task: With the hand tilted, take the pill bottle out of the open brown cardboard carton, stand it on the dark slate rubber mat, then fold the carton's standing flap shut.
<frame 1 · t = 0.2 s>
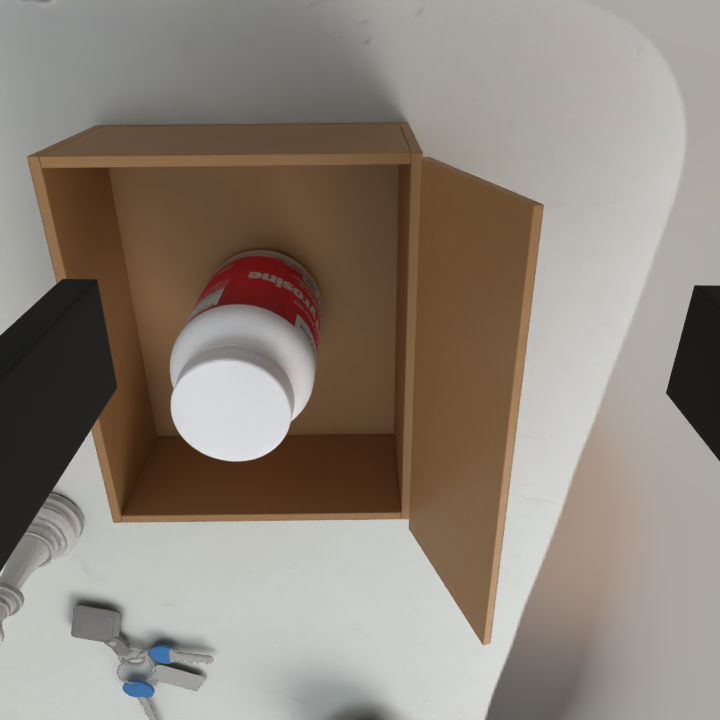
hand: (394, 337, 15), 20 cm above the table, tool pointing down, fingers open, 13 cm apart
carton: (265, 298, 36), on the table
pill bottle: (265, 300, 36), resting on carton
key chain: (158, 653, 49), on the table
chess piece: (50, 515, 43), on the table
flap: (457, 411, 26), point 12 cm above the table, hinge at 110.0°
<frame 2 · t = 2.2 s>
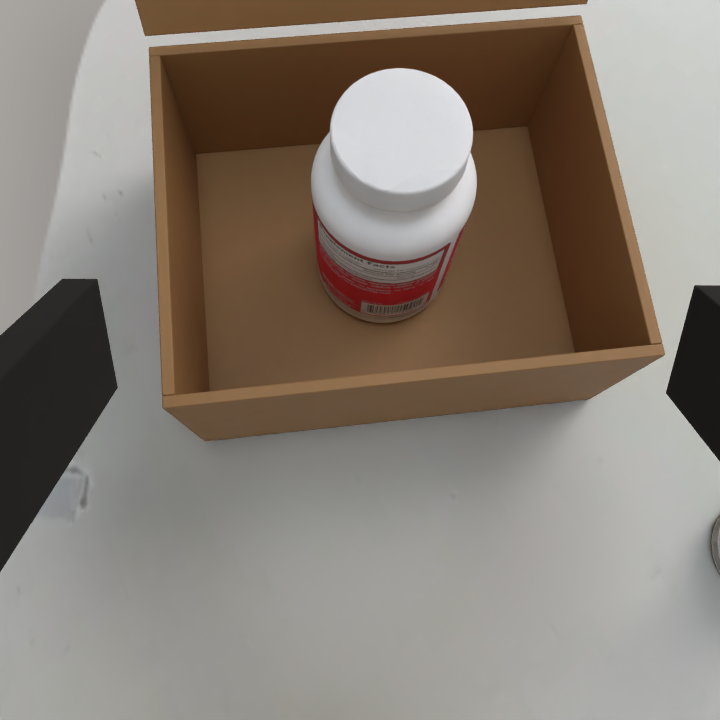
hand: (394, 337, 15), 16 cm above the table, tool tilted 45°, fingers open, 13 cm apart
carton: (380, 270, 32), on the table
pill bottle: (381, 268, 32), resting on carton
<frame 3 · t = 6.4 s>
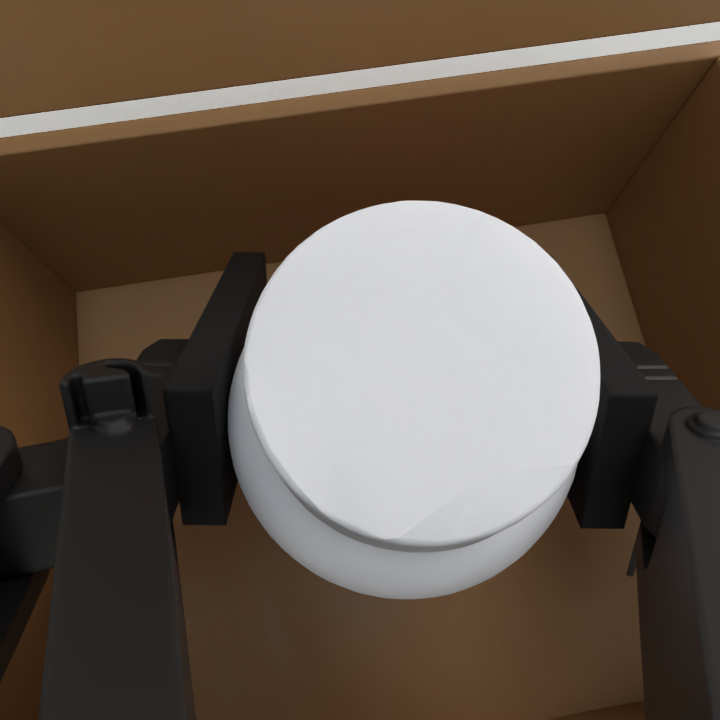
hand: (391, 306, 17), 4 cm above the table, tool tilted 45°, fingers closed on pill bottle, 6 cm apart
carton: (384, 472, 20), on the table
pill bottle: (384, 471, 19), resting on carton, touching gripper
when the fingers open (4 cm above the table, at t = 17.1 s): pill bottle stays where it is, resting on mat.
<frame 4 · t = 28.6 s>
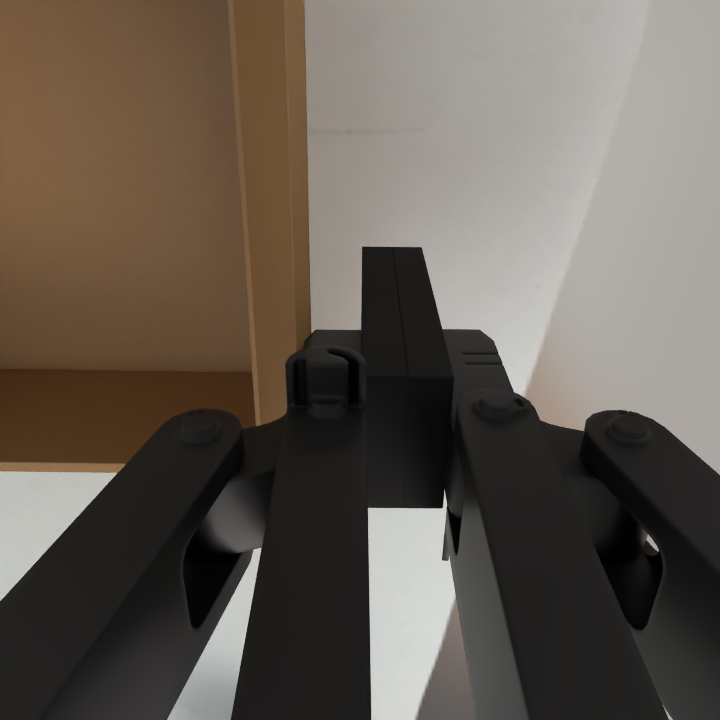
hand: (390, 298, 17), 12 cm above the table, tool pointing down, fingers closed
carton: (98, 182, 27), on the table
flap: (275, 296, 17), point 12 cm above the table, hinge at 105.7°, touching gripper
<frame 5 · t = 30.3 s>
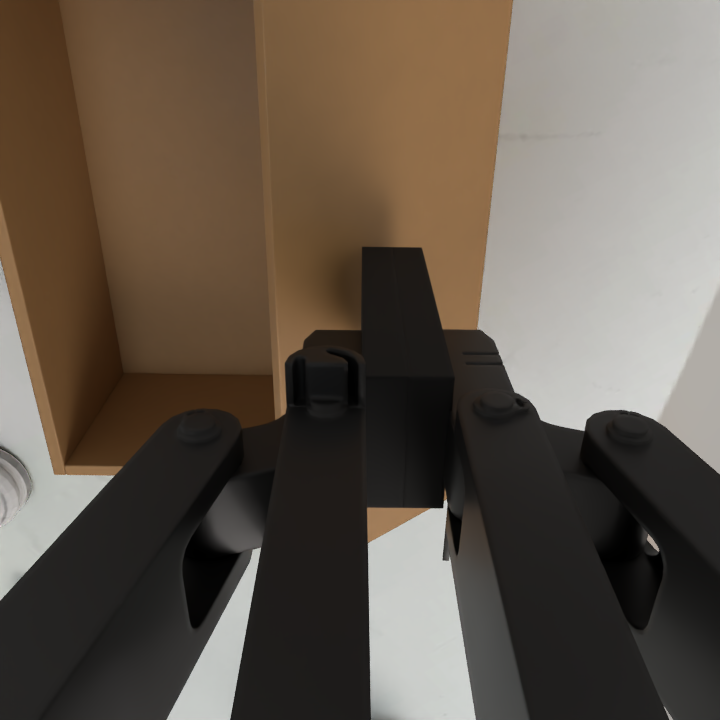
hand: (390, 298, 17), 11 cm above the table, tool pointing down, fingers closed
carton: (267, 187, 27), on the table
flap: (388, 282, 18), point 10 cm above the table, hinge at 38.2°, touching gripper
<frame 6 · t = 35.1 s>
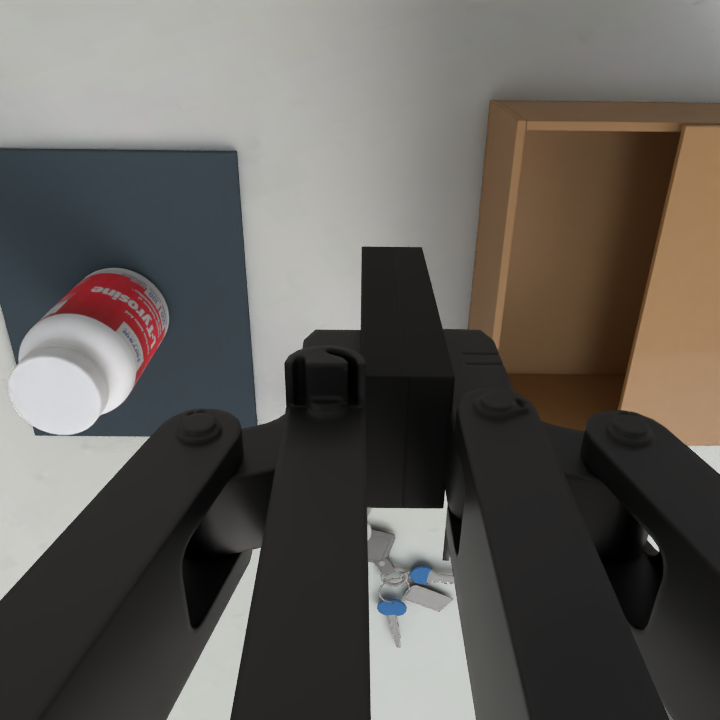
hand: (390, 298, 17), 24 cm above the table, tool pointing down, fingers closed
carton: (593, 252, 42), on the table
mat: (126, 306, 44), on the table
pill bottle: (124, 308, 43), resting on mat
key chain: (413, 575, 55), on the table
flap: (712, 304, 35), point 8 cm above the table, hinge at 1.0°
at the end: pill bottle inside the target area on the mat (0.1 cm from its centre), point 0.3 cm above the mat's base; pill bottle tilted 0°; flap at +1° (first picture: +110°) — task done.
